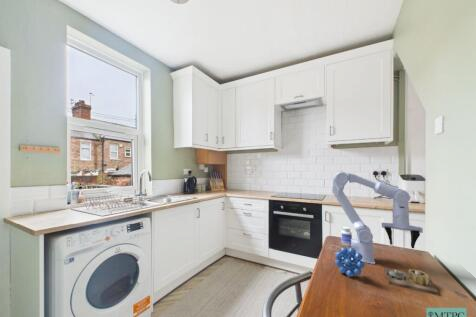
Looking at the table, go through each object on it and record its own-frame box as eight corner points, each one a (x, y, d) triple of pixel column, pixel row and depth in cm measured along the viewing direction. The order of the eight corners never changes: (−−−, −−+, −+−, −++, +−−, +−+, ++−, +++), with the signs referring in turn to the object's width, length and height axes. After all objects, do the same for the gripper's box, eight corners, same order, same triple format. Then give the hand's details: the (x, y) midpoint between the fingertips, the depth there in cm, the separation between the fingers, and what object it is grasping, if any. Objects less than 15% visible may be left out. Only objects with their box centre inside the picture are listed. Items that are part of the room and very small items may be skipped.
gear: (411, 283, 76) (411, 275, 76) (406, 274, 82) (406, 267, 82) (431, 287, 73) (430, 279, 73) (425, 278, 79) (424, 270, 80)
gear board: (388, 283, 77) (388, 271, 78) (384, 270, 88) (384, 259, 88) (438, 295, 71) (437, 282, 71) (427, 279, 81) (426, 267, 81)
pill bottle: (353, 246, 115) (353, 229, 115) (343, 245, 116) (342, 228, 116) (350, 243, 120) (349, 226, 120) (340, 242, 121) (340, 226, 122)
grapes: (369, 279, 80) (368, 248, 81) (362, 285, 76) (361, 252, 77) (339, 267, 90) (339, 240, 90) (332, 272, 85) (331, 243, 86)
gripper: (382, 215, 93) (383, 245, 92) (424, 219, 86) (425, 252, 85) (380, 212, 99) (381, 240, 98) (419, 216, 92) (420, 246, 91)
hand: (401, 245), depth 92 cm, fingers open, 7 cm apart
